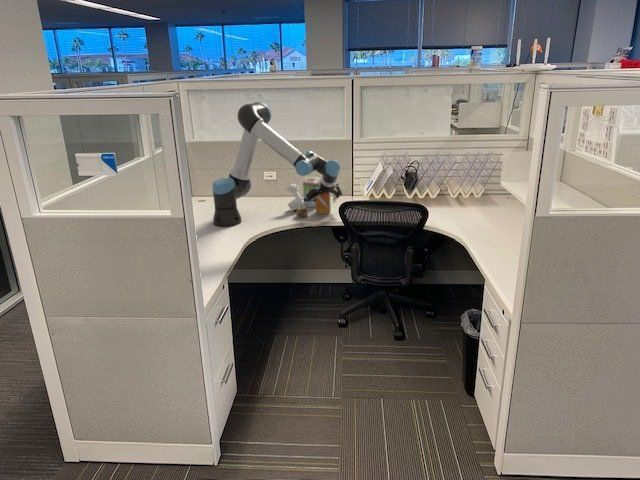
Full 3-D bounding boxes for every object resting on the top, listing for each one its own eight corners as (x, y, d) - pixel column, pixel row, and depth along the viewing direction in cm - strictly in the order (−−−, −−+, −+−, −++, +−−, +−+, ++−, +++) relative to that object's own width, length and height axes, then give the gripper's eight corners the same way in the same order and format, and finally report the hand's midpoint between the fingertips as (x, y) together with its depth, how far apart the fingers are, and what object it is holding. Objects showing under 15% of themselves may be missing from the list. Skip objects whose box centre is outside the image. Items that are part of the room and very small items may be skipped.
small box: (315, 214, 266) (315, 191, 261) (316, 211, 272) (316, 189, 267) (330, 214, 265) (329, 191, 260) (330, 211, 271) (330, 188, 266)
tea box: (319, 207, 279) (319, 182, 273) (303, 207, 280) (302, 182, 275) (323, 200, 292) (323, 177, 287) (307, 200, 294) (306, 177, 289)
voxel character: (309, 204, 267) (293, 182, 265) (294, 215, 272) (278, 194, 270) (312, 200, 273) (297, 179, 271) (298, 211, 278) (282, 191, 276)
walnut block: (298, 218, 260) (298, 209, 258) (296, 215, 264) (296, 207, 263) (307, 217, 261) (307, 208, 259) (305, 214, 266) (305, 206, 264)
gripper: (306, 190, 245) (301, 209, 264) (352, 185, 251) (344, 205, 269) (304, 177, 248) (299, 198, 267) (349, 174, 254) (341, 194, 272)
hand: (322, 201), depth 268 cm, fingers open, 13 cm apart
